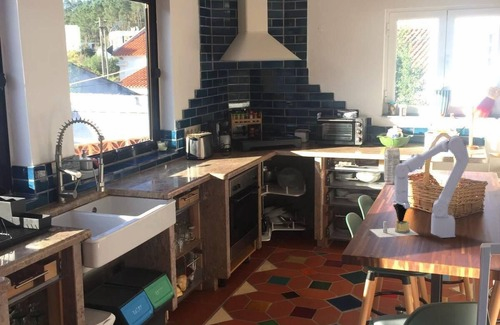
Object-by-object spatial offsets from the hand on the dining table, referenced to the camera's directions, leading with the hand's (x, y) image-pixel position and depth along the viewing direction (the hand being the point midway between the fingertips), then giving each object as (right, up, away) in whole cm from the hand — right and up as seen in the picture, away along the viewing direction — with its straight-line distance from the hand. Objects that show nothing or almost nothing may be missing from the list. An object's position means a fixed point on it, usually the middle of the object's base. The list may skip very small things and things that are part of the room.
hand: (400, 220), depth 249 cm
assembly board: (-4, -6, -2) cm, 7 cm away
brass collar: (0, -4, -2) cm, 4 cm away
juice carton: (+22, +12, +103) cm, 106 cm away
